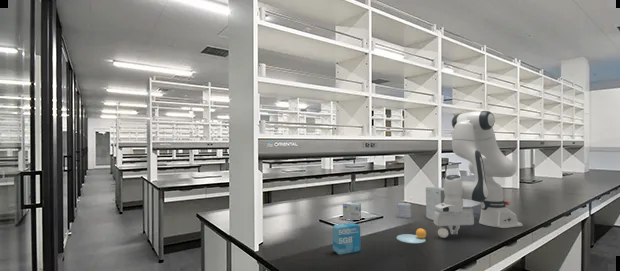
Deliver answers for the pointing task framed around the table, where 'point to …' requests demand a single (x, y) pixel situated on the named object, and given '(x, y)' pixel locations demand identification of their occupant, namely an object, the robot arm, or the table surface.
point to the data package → (346, 238)
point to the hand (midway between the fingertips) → (454, 233)
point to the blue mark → (410, 238)
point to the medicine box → (404, 210)
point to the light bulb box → (352, 210)
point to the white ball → (443, 232)
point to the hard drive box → (433, 200)
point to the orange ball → (421, 233)
